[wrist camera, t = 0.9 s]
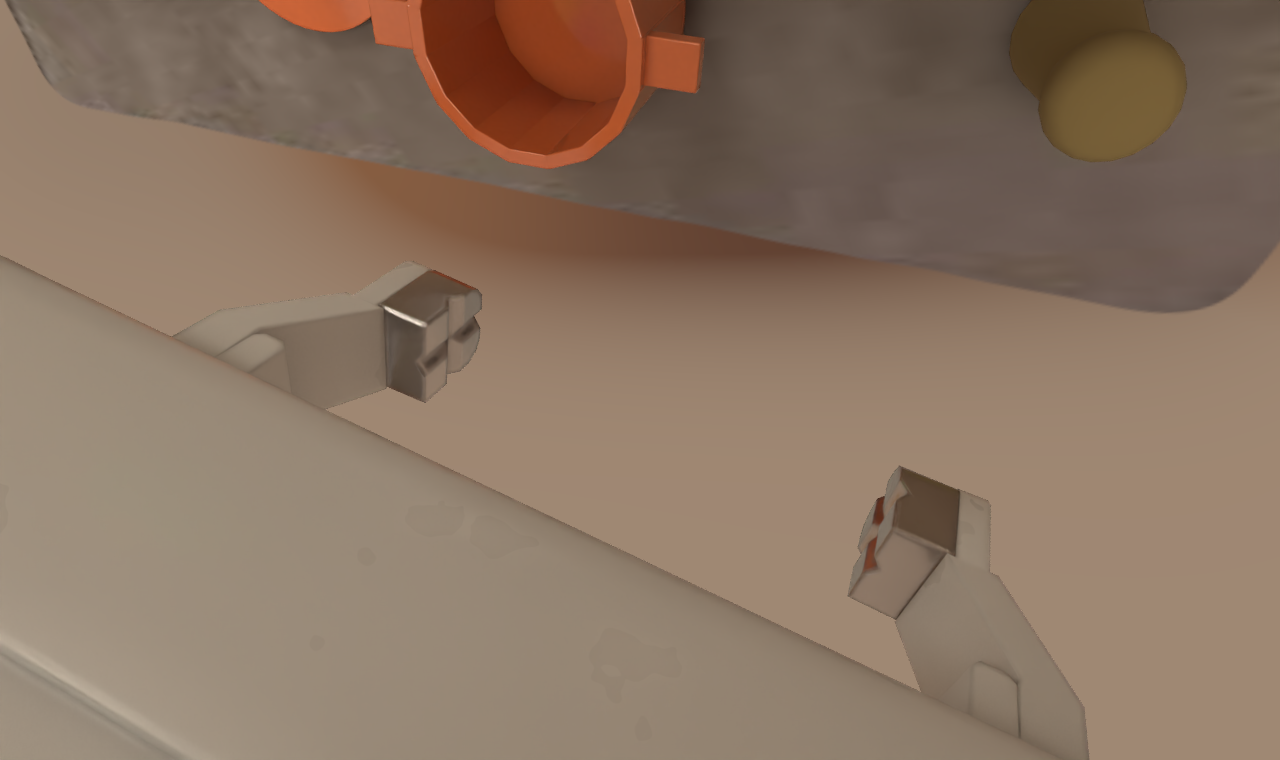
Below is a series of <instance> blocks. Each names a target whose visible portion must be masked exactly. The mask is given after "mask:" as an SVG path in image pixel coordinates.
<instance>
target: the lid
mask: <svg viewBox="0 0 1280 760" xmlns="http://www.w3.org/2000/svg"><path fill="white" fill-rule="evenodd" d="M259 1H260V2H261V3H262V4H264V5H265V6H266V7H267V8H269V9H270V10H271V11H273V12H274V13H276V14H277V15H279V16H280V17H282V18H284V19H286V20H288V21H290V22H292V23H294V24H296V25H299V26H301V27H304V28H307V29H311V30H315V31H321V32H339V31H345V30H348V29H352V28H354V27H356V26H358V25H360V24H362V23H364V22H366V21H368V20H369V19H370V18H371V14H370V8H369V3H368V0H259Z"/></svg>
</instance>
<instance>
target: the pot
mask: <svg viewBox="0 0 1280 760" xmlns="http://www.w3.org/2000/svg"><path fill="white" fill-rule="evenodd" d="M368 3H369V8H370V14H371V20H372V25H373V31H374V36H375V42H376V44H381V45H387V46H394V47H400V48H407V49H413V53H414V56H415V59H416V61H417V63H418V65H419V67H420V69H421V71H422V74H423V76H424V78H425V80H426V82H427V84H428V86H429V88H430V90H431V92H432V94H433V96H434V99H435V101H437V102H436V103H437V104H438V105H439V106H440V107H441V108H442V110H443V111H444V112H445V113H446V114H447V115H448V116H449V117H450V118H451V119H452V121H453V122H454V123H455V124H456V125H457V126H458V127H459V128H460V129H461V131H462V132H463V133H464V134H465V135H466V136H467V137H468V138H469V139H470V140H472V141H474V142H475V143H477V144H479V145H480V146H482V147H484V148H486V149H487V150H489V151H491V152H492V153H494V154H496V155H497V156H499V157H501V158H503V159H504V160H506V161H508V162H512V163H517V164H523V165H528V166H534V167H539V168H545V169H552V168H556V167H560V166H565V165H569V164H573V163H577V162H581V161H586V160H588V159H590V158H592V157H593V156H594V155H595V154H596V153H598V152H599V151H600V150H601V149H602V148H604V147H605V146H606V145H607V144H608V143H610V142H611V141H612V140H613V139H614V138H616V137H617V136H618V135H619V134H620V133H621V132H622V131H623V130H624V128H625V127H626V126H627V125H628V123H629V122H630V121H631V120H632V119H633V117H634V116H635V115H636V114H637V112H638V111H639V110H640V109H641V108H642V106H643V105H644V104H645V103H646V101H647V100H648V99H649V98H650V96H651V95H652V94H653V93H654V92H655V90H656V89H657V88H664V89H670V90H677V91H683V92H690V93H696V92H697V91H698V89H699V88H700V83H701V73H702V63H703V54H704V44H705V39H704V38H701V37H694V36H687V35H683V30H684V23H685V0H368Z"/></svg>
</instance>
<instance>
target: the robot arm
mask: <svg viewBox="0 0 1280 760" xmlns="http://www.w3.org/2000/svg"><path fill="white" fill-rule="evenodd" d="M481 309H482V294H481V293H480V292H479V290H478V289H476V288H474V287H471V286H469V285H467V284H465V283H462V282H460V281H458V280H456V279H453V278H451V277H449V276H447V275H444V274H442V273H440V272H437V271H435V270H432V269H430V268H428V267H426V266H423V265H421V264H419V263H416V262H414V261H405V262H404V263H402V264H401V265H399V266H397V267H396V268H394V269H393V270H391V271H390V272H388V273H387V274H385V275H384V276H382V277H381V278H379V279H377V280H376V281H374V282H373V283H371V284H370V285H368V286H367V287H365V288H364V289H362V290H360V291H359V292H357V293H356V294H354V295H351V294H349V293H347V292H345V293H338V294H331V295H324V296H317V297H309V298H303V299H295V300H288V301H280V302H274V303H266V304H259V305H252V306H245V307H238V308H230V309H223V310H218V311H217V312H215V313H213V314H211V315H209V316H208V317H206V318H204V319H202V320H201V321H199V322H197V323H195V324H193V325H192V326H190V327H188V328H186V329H184V330H183V331H181V332H179V333H177V334H176V335H174V336H172V337H171V336H168V335H166V334H164V333H162V332H160V331H158V330H156V329H154V328H152V327H150V326H148V325H145V324H143V323H141V322H139V321H137V320H135V319H133V318H131V317H129V316H126V315H124V314H122V313H120V312H118V311H116V310H114V309H112V308H110V307H108V306H105V305H103V304H101V303H99V302H97V301H95V300H93V299H90V298H89V297H86V296H84V295H82V294H80V293H78V292H76V291H74V290H72V289H70V288H68V287H65V286H63V285H61V284H59V283H57V282H55V281H53V280H50V279H48V278H46V277H44V276H42V275H40V274H38V273H36V272H34V271H32V270H30V269H28V268H26V267H24V266H22V265H20V264H18V263H16V262H14V261H12V260H10V259H7V258H5V257H3V256H0V760H1089V751H1088V741H1087V730H1086V719H1085V710H1084V706H1083V704H1082V703H1081V702H1080V700H1079V698H1078V697H1077V695H1076V694H1075V692H1074V691H1073V689H1072V688H1071V686H1070V685H1069V683H1068V682H1067V680H1066V679H1065V677H1064V675H1063V674H1062V673H1061V671H1060V669H1059V668H1058V666H1057V665H1056V663H1055V662H1054V660H1053V659H1052V657H1051V655H1050V654H1049V653H1048V651H1047V649H1046V648H1045V646H1044V645H1043V643H1042V642H1041V640H1040V639H1039V637H1038V636H1037V634H1036V633H1035V631H1034V629H1033V628H1032V627H1031V625H1030V623H1029V622H1028V620H1027V619H1026V617H1025V616H1024V615H1023V613H1022V611H1021V610H1020V608H1019V606H1018V605H1017V603H1016V602H1015V600H1014V599H1013V597H1012V596H1011V594H1010V593H1009V591H1008V590H1007V588H1006V587H1005V585H1004V584H1003V582H1002V581H1001V579H1000V577H999V576H997V575H995V574H993V573H990V520H991V517H990V516H991V514H990V513H991V509H990V507H991V505H990V503H989V502H988V500H985V499H983V498H980V497H978V496H975V495H972V494H970V493H967V492H965V491H962V490H960V489H954V488H952V487H950V486H947V485H945V484H943V483H940V482H938V481H935V480H933V479H930V478H928V477H926V476H923V475H921V474H918V473H916V472H913V471H911V470H909V469H906V468H904V467H901V466H899V467H898V468H897V469H896V470H895V471H894V473H893V474H892V476H891V477H890V479H889V481H888V484H887V489H886V494H885V496H883V497H881V498H878V499H877V500H876V502H875V504H874V505H873V507H872V509H871V511H870V513H869V515H868V517H867V519H866V522H865V524H864V526H863V530H862V533H861V536H860V540H859V544H858V549H859V551H860V553H861V556H860V557H859V559H858V560H857V562H856V564H855V565H854V567H853V572H852V577H851V582H850V587H849V592H848V597H850V598H852V599H854V600H856V601H858V602H860V603H862V604H864V605H867V606H869V607H871V608H873V609H875V610H877V611H879V612H881V613H883V614H885V615H887V616H889V617H891V618H893V619H895V620H896V621H895V624H896V626H897V629H898V632H899V634H900V637H901V640H902V642H903V645H904V647H905V650H906V653H907V656H908V658H909V661H910V664H911V666H912V669H913V671H914V674H915V677H916V680H917V682H918V685H919V687H920V690H921V692H920V691H918V690H916V689H914V688H911V687H909V686H907V685H905V684H903V683H901V682H899V681H897V680H895V679H892V678H890V677H888V676H886V675H884V674H882V673H880V672H878V671H876V670H873V669H871V668H869V667H867V666H865V665H863V664H861V663H859V662H857V661H855V660H852V659H850V658H848V657H846V656H844V655H842V654H840V653H838V652H835V651H833V650H831V649H829V648H827V647H825V646H823V645H821V644H818V643H816V642H814V641H812V640H810V639H808V638H806V637H803V636H801V635H799V634H797V633H795V632H793V631H791V630H788V629H786V628H784V627H782V626H780V625H778V624H776V623H774V622H771V621H769V620H767V619H765V618H763V617H761V616H759V615H757V614H755V613H753V612H751V611H749V610H746V609H744V608H742V607H740V606H738V605H736V604H734V603H732V602H730V601H728V600H725V599H723V598H721V597H719V596H717V595H715V594H713V593H711V592H709V591H707V590H704V589H702V588H700V587H698V586H696V585H694V584H692V583H690V582H688V581H685V580H683V579H681V578H679V577H677V576H675V575H672V574H671V573H668V572H666V571H664V570H662V569H660V568H658V567H656V566H654V565H652V564H650V563H648V562H646V561H643V560H641V559H639V558H637V557H635V556H633V555H631V554H629V553H626V552H624V551H622V550H620V549H618V548H616V547H614V546H612V545H610V544H608V543H605V542H603V541H601V540H599V539H597V538H595V537H593V536H591V535H589V534H586V533H584V532H582V531H580V530H578V529H576V528H573V527H572V526H570V525H567V524H565V523H563V522H561V521H559V520H557V519H555V518H552V517H550V516H548V515H546V514H544V513H542V512H540V511H538V510H536V509H533V508H531V507H529V506H527V505H525V504H523V503H521V502H519V501H516V500H514V499H512V498H510V497H508V496H506V495H504V494H502V493H500V492H497V491H495V490H493V489H491V488H489V487H487V486H485V485H483V484H481V483H478V482H476V481H474V480H472V479H470V478H468V477H466V476H464V475H461V474H459V473H457V472H455V471H453V470H451V469H449V468H447V467H445V466H442V465H440V464H438V463H436V462H434V461H432V460H430V459H428V458H426V457H424V456H422V455H419V454H417V453H415V452H413V451H411V450H409V449H407V448H405V447H402V446H400V445H398V444H396V443H394V442H392V441H390V440H388V439H386V438H383V437H381V436H379V435H377V434H375V433H373V432H371V431H369V430H366V429H365V428H362V427H360V426H358V425H356V424H354V423H352V422H350V421H348V420H346V419H344V418H341V417H339V416H337V415H335V414H333V413H331V412H329V411H327V410H325V409H328V408H331V407H334V406H337V405H340V404H343V403H346V402H349V401H352V400H355V399H358V398H361V397H364V396H366V395H369V394H373V393H375V392H378V391H381V390H384V389H386V388H387V387H389V388H391V389H394V390H396V391H398V392H401V393H403V394H406V395H408V396H410V397H413V398H415V399H417V400H420V401H422V402H424V403H426V402H427V401H428V400H429V399H431V398H432V397H433V396H434V395H435V394H436V393H437V392H438V391H439V390H440V389H441V388H443V387H444V386H445V385H446V382H447V374H451V373H455V372H459V371H461V370H462V369H463V368H464V367H465V366H466V365H467V364H468V363H469V361H470V360H471V358H472V356H473V355H474V353H475V351H476V349H477V345H478V342H479V338H480V327H479V325H478V323H477V321H476V319H475V317H474V315H475V314H477V313H478V312H479V311H480V310H481Z"/></svg>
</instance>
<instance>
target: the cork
mask: <svg viewBox="0 0 1280 760" xmlns="http://www.w3.org/2000/svg"><path fill="white" fill-rule="evenodd" d="M1009 54H1010V59H1011V63H1012V67H1013V71H1014V72H1015V74H1016V75H1017V76H1018V78H1019V79H1020V81H1021V82H1022V84H1023V85H1024V86H1025V87H1026V88H1027V89H1028V90H1029V91H1030V92H1031V93H1032V94H1033V95H1034V96H1035V97H1036V98H1037V99H1038V100H1039V101H1040V102H1039V108H1038V111H1039V116H1040V120H1041V125H1042V129H1043V132H1044V134H1045V135H1046V137H1047V138H1048V139H1049V141H1050V142H1051V144H1052V145H1053V146H1054V147H1056V148H1057V149H1059V150H1060V151H1062V152H1063V153H1065V154H1067V155H1068V156H1070V157H1072V158H1075V159H1079V160H1083V161H1088V162H1104V161H1113V160H1117V159H1120V158H1123V157H1127V156H1130V155H1133V154H1135V153H1136V152H1138V151H1140V150H1142V149H1143V148H1145V147H1147V146H1149V145H1150V144H1152V143H1153V142H1154V141H1156V140H1157V139H1158V138H1159V137H1160V136H1161V135H1162V134H1163V133H1164V132H1165V131H1166V130H1167V129H1168V128H1169V127H1170V126H1171V124H1172V123H1173V121H1174V120H1175V118H1176V116H1177V115H1178V113H1179V112H1180V110H1181V108H1182V104H1183V100H1184V97H1185V93H1186V89H1187V81H1186V72H1185V64H1184V63H1183V61H1182V60H1181V58H1180V56H1179V55H1178V53H1177V51H1176V50H1175V48H1174V47H1173V46H1172V45H1171V44H1169V43H1168V42H1166V41H1165V40H1163V39H1162V38H1160V37H1159V36H1157V35H1156V34H1154V33H1151V32H1150V28H1149V23H1148V19H1147V15H1146V11H1145V6H1144V2H1143V0H1032V1H1031V2H1030V3H1029V5H1028V6H1027V7H1026V8H1025V10H1024V11H1023V12H1022V13H1021V14H1020V16H1019V19H1018V21H1017V23H1016V25H1015V28H1014V30H1013V32H1012V35H1011V43H1010V51H1009Z"/></svg>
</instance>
